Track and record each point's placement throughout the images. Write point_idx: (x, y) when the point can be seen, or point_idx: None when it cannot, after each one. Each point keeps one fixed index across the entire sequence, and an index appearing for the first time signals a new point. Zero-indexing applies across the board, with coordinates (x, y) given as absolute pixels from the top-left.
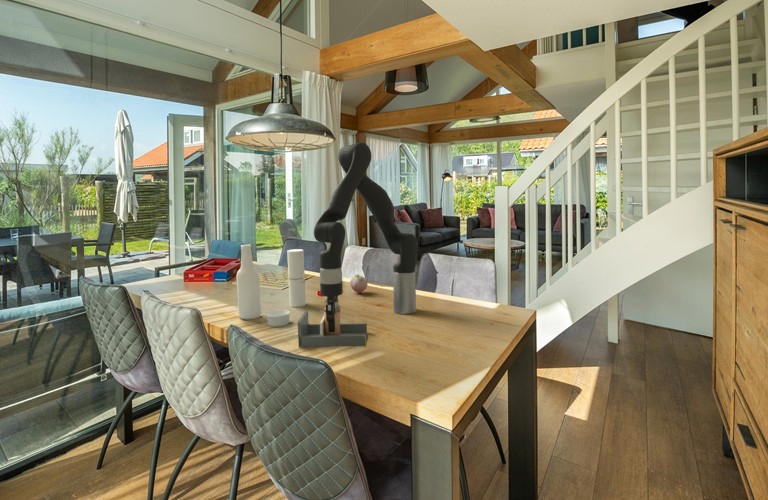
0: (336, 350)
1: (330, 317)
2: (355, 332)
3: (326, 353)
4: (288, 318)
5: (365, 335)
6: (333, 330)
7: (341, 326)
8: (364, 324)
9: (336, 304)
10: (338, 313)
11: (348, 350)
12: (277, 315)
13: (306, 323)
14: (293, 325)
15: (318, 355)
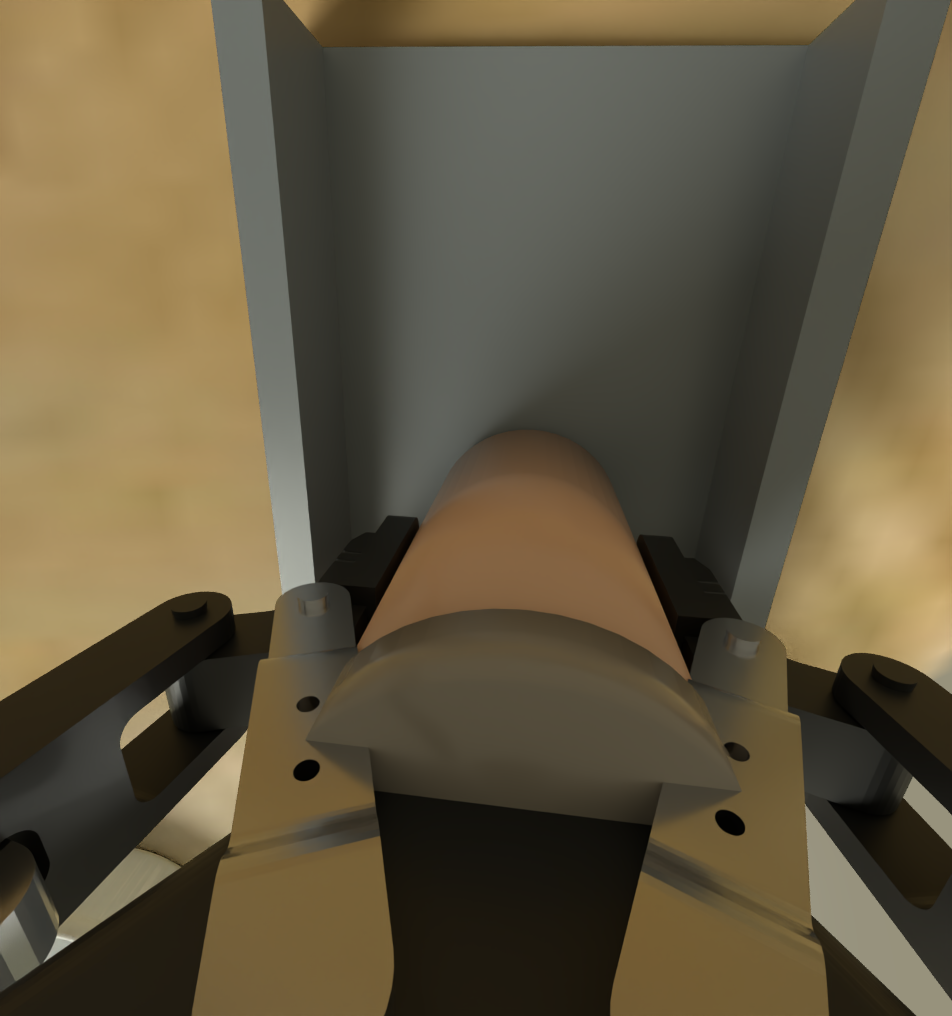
0: (863, 455)
1: (876, 775)
2: (345, 238)
3: (913, 551)
4: (106, 888)
5: (466, 63)
6: (696, 560)
7: (315, 440)
8: (269, 28)
9: (820, 980)
10: (626, 620)
11: (917, 311)
12: (58, 947)
13: None
14: (170, 815)
15: (937, 620)
